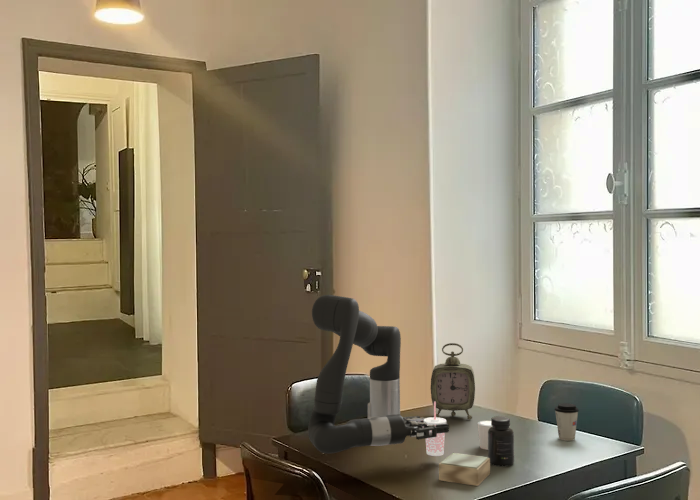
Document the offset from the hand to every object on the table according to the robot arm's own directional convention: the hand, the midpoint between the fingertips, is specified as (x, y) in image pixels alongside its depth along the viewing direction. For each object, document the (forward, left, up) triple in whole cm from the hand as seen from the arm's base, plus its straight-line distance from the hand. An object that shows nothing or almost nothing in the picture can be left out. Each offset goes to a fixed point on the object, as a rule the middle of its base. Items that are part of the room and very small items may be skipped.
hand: (443, 424), depth 195 cm
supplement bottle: (+14, +5, -10) cm, 18 cm away
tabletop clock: (-14, +46, -10) cm, 49 cm away
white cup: (+7, +18, -10) cm, 22 cm away
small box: (+9, -10, -10) cm, 17 cm away
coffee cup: (+25, +36, -10) cm, 45 cm away
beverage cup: (-2, -2, -8) cm, 8 cm away
